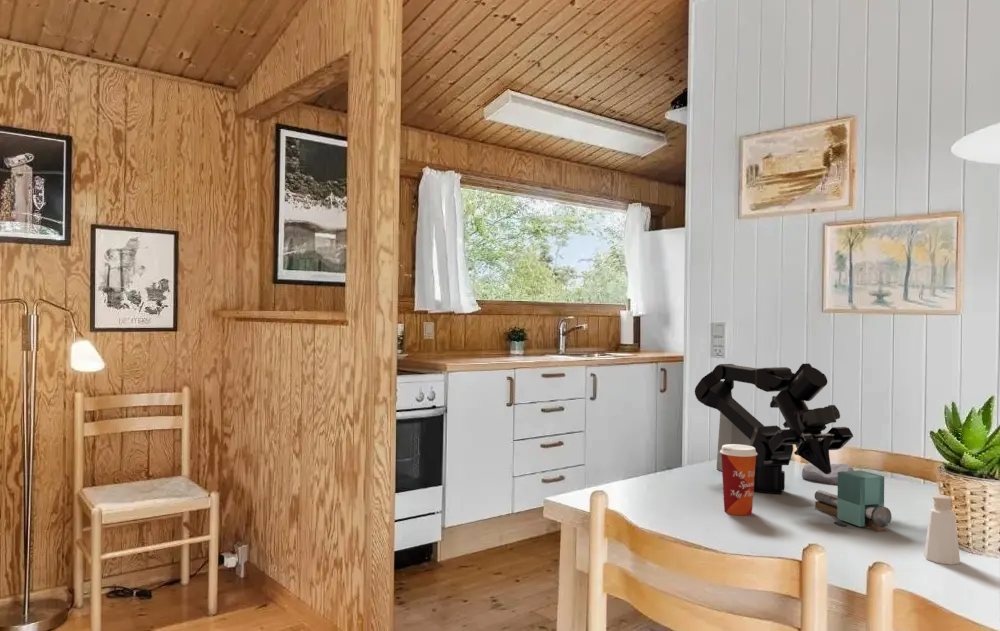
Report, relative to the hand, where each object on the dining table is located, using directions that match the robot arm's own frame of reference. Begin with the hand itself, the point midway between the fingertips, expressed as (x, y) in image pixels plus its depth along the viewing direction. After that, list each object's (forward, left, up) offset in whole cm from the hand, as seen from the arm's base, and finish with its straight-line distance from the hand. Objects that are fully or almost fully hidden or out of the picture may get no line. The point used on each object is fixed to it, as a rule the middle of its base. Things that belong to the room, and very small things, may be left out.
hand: (828, 473), depth 154 cm
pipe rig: (+4, -4, -8) cm, 10 cm away
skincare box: (-22, +33, -9) cm, 40 cm away
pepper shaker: (+17, -25, -9) cm, 32 cm away
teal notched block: (+6, -7, -8) cm, 12 cm away
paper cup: (-18, -8, -9) cm, 21 cm away
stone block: (+1, +34, -9) cm, 35 cm away
